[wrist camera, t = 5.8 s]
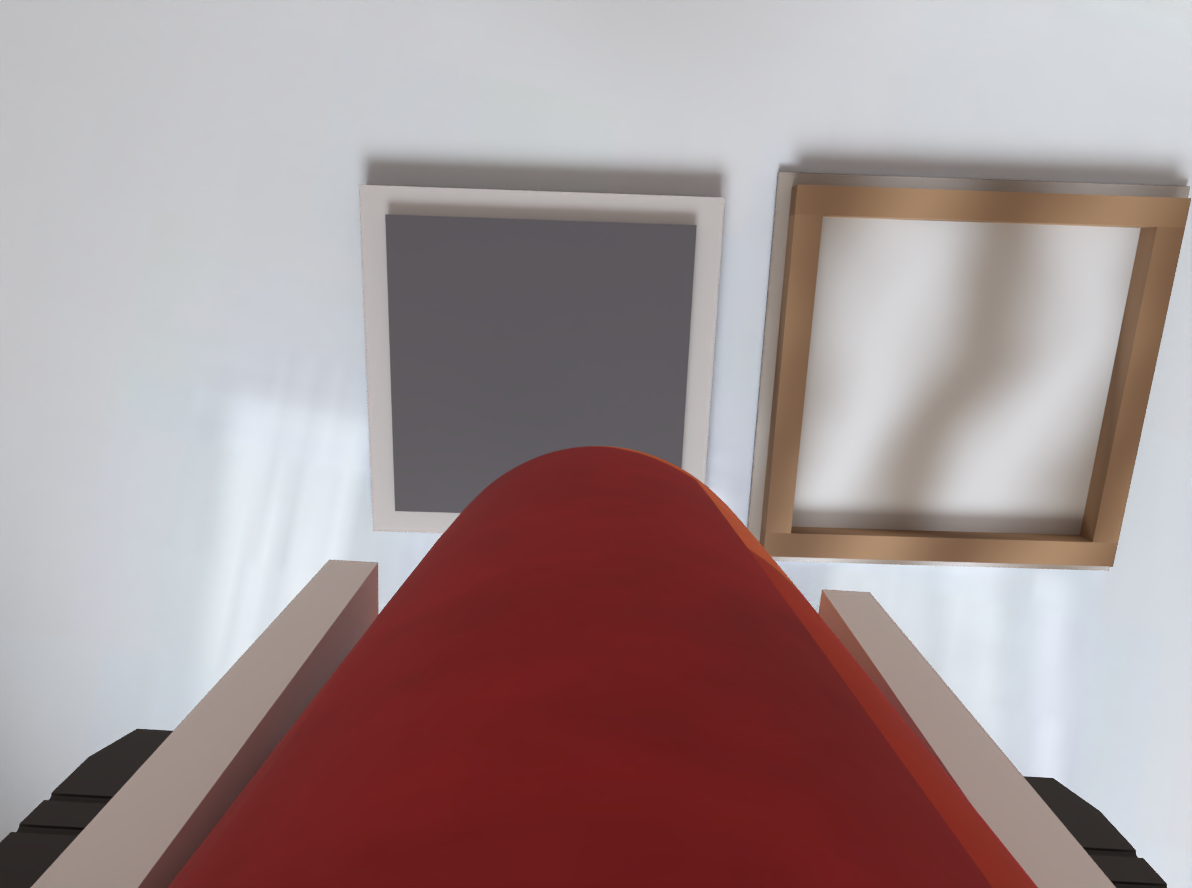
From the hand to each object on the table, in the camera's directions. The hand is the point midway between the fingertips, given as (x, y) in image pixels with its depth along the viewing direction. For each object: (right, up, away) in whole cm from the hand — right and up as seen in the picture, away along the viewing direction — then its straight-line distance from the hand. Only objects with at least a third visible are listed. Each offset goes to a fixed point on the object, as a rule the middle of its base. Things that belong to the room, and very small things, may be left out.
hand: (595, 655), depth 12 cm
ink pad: (-2, +6, +16) cm, 18 cm away
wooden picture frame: (+14, +6, +17) cm, 22 cm away
